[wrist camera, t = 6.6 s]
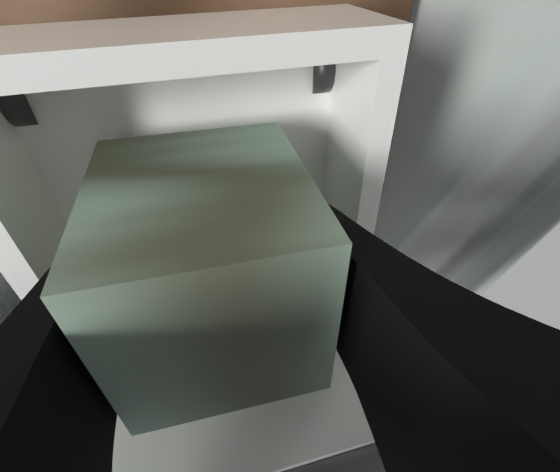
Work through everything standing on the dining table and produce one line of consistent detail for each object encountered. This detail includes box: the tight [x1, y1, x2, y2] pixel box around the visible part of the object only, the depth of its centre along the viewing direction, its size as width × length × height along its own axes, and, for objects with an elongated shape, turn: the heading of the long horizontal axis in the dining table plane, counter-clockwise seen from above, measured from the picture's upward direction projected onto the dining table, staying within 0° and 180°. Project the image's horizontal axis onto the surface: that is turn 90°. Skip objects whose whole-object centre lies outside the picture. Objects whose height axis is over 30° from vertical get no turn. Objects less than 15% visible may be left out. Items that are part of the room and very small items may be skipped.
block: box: [40, 122, 352, 436], centre depth 8 cm, size 4×4×5 cm
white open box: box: [0, 4, 413, 472], centre depth 9 cm, size 9×10×8 cm
